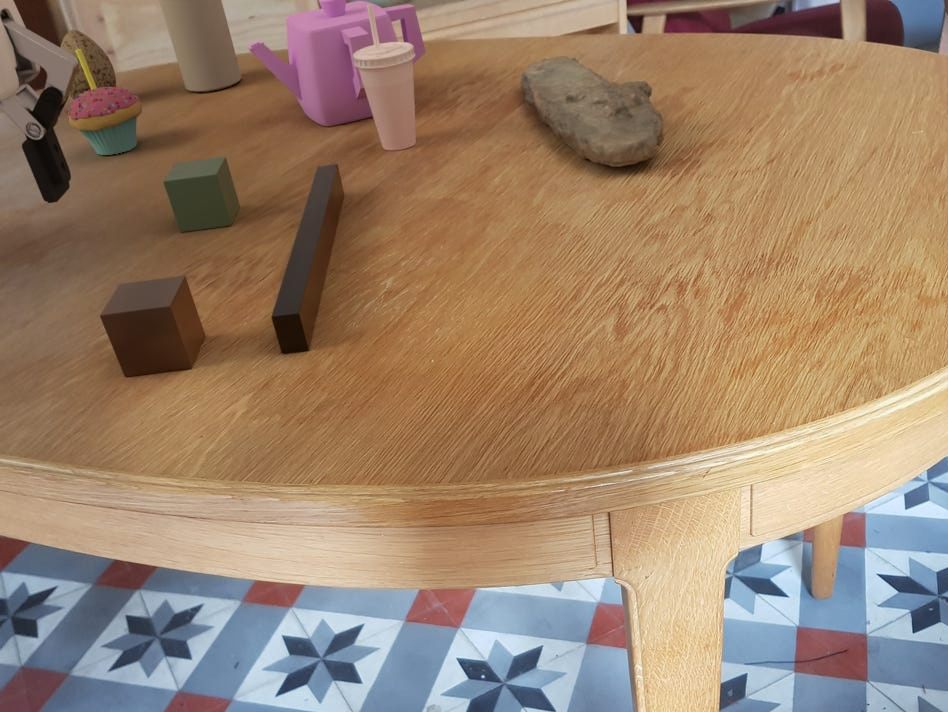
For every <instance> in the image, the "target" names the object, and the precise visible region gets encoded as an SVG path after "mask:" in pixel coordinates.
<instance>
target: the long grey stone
mask: <svg viewBox="0 0 948 712" xmlns="http://www.w3.org/2000/svg"><path fill="white" fill-rule="evenodd" d="M520 77H521V78H520V89H521V91H522V93H524V98H525V99H524V102H525V103H527V104H528V105H529V106H531V107H532V108H533V109H535V110H536V111H537V116H538V119H539V120H540V122H541V124H545V125H548V127H549V128H550V129H551V130H552V133H553V135H554V137H556V138H558V139H560V140H562V142H563V143H565V144H566V145H567V146H569V148H571V149H572V150H573V151H575V153H576V154H577V155H578V156H579V157H580V159H582V160H589V161H590V162H592V163H599V164H602V165H605V166H609V167H612V168H615V167H618V168H619V167H624V166H629V165H636V164H638V163H640V162H644V161H647V160H648V159H652V158H654V157H655V154H656V150H657V149H656V147H657V146H659V147H661V145H662V143H663V141H664V139H665V137H664V120H663V116H662V113H661V112H660V111H659V110H658V109H656V108H655V105H654V104H652V102H651V99H650V97H651V96H652V93H653V88H652V87H651V86H650V84H649V83H648V82H647V81H645V80H637V81H628V82H627V81H626V82H624V83H622V84H621V83H619V82H615V81H611V82H609V81H608V79H606V78H603V76H602V75H599V74H598V73H597V72H594V70H593V69H591V68H588V67H587V66H585V65H584V64H581V63H580V61H579V60H578V59H577V58H576V57H572V58H570V57H568V56H565V55H562V56H555V57H550V58H542V59H541V60H539V61H535V62H533V63H530V64H529V65H528V66H527V67H526V68H525V69H524V70H523V72H522V73H521V76H520Z"/></svg>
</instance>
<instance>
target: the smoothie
mask: <svg viewBox="0 0 948 712" xmlns="http://www.w3.org/2000/svg"><path fill="white" fill-rule="evenodd" d="M373 4H374V3H372V4H369V5H367V8H368V14H369V19H370V25H371V31H372V36H373V42H374V45H372V46H368V47H365V48H362V49H360V50H358V51H356V52H355V53H354V54H353V58H354V65H355V66H356V67H358V69H359V72H360V76H361V79H362V82H363V85H364V89H365V92H366V95H367V98H368V101H369V105H370V108H371V111H372V114H373V117H372V118H373V121H374V123H375V127H376V130H377V133H378V136H379V140H380V143H381V147H382V149H383V150H385V151H401V150H406V149H409V148H412V147H413V146H415V145H416V144H417V131H416V130H417V129H416V106H415V83H414V64H413V58H414V57H415V53H414V47H413V45H412V44H410V43H406V42H404V41H398V42H389V43H381V44H379V39H378V33H377V27H376V22H375V16H374V10H373Z"/></svg>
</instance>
